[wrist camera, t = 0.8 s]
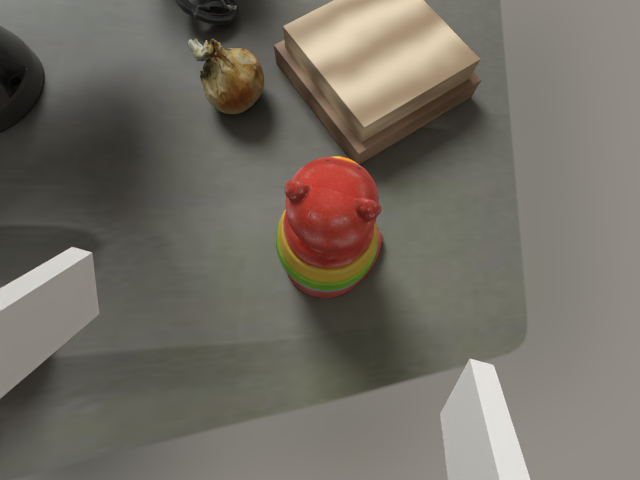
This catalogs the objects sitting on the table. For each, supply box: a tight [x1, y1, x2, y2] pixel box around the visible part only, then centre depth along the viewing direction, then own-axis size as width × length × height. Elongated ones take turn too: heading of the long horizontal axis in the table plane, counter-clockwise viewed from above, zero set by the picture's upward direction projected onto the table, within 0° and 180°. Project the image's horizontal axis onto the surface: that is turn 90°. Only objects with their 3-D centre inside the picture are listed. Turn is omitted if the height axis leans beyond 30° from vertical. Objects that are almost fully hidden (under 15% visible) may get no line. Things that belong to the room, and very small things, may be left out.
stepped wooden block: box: [274, 0, 481, 165], centre depth 44 cm, size 18×18×6 cm
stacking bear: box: [276, 156, 383, 298], centre depth 32 cm, size 11×10×18 cm
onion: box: [188, 39, 264, 114], centre depth 42 cm, size 8×8×8 cm
